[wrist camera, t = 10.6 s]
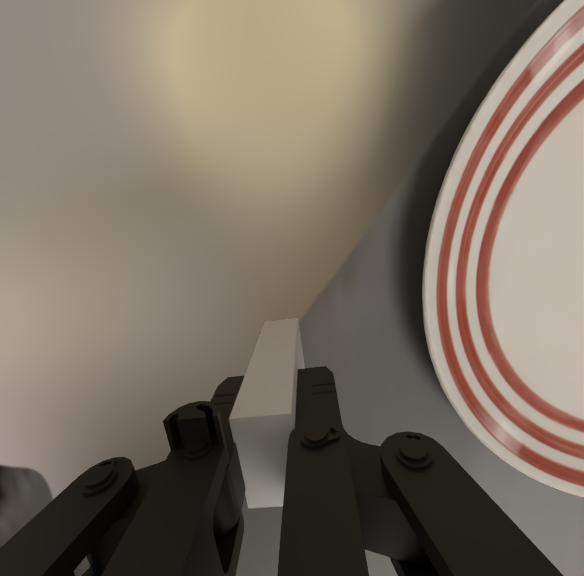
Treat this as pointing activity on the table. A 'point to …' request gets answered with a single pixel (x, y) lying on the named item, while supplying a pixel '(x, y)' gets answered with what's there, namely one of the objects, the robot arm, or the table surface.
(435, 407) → the table surface
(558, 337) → the dinner plate
